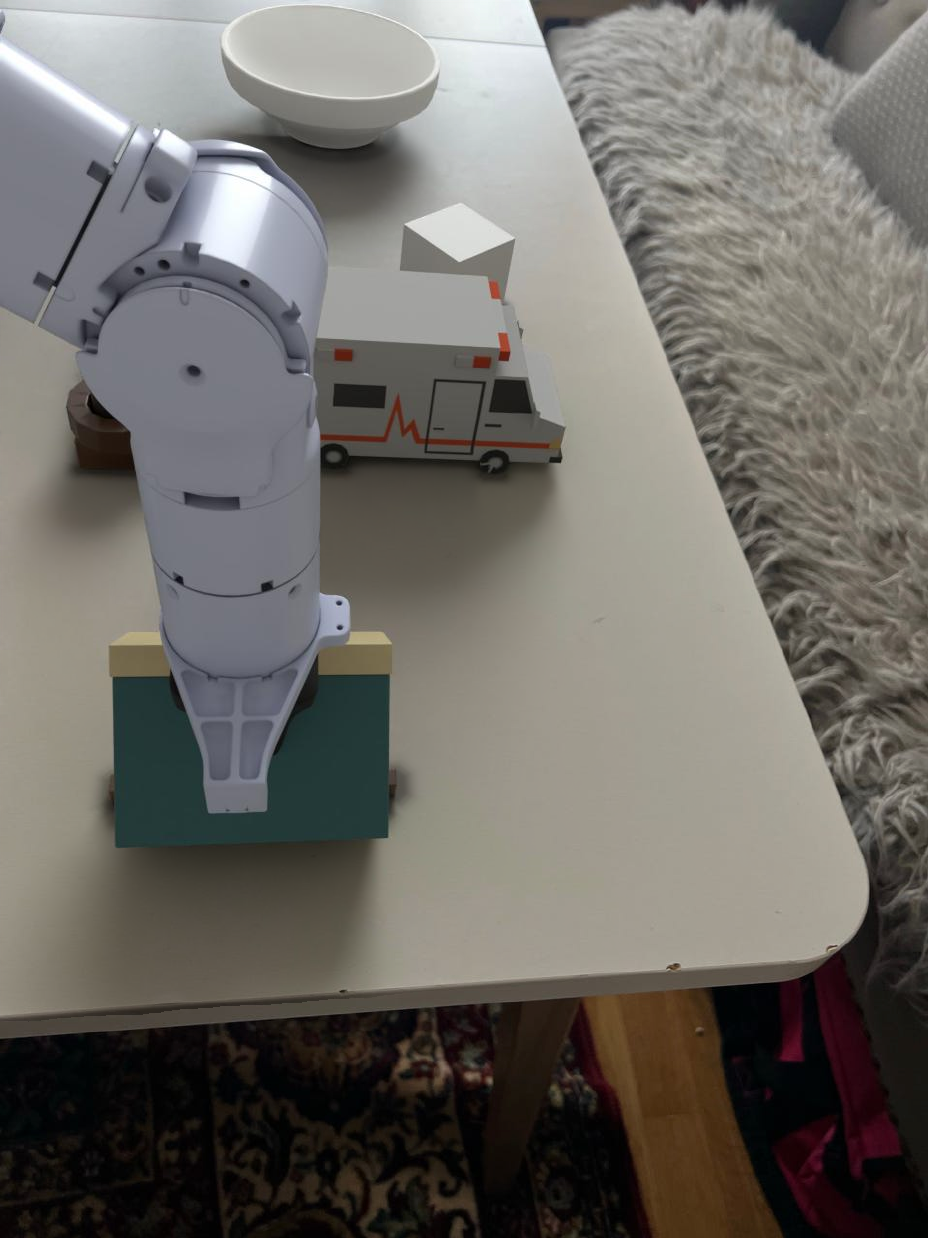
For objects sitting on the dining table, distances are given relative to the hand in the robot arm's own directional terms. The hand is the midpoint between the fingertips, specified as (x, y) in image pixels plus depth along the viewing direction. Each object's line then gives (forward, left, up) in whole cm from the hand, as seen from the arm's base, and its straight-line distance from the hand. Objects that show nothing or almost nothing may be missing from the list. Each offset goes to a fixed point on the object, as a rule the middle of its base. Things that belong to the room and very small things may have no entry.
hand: (254, 746), depth 45 cm
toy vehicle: (+11, +29, -7) cm, 32 cm away
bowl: (+5, +72, -7) cm, 73 cm away
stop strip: (0, +2, -7) cm, 7 cm away
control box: (-7, +32, -7) cm, 33 cm away
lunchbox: (0, -1, -5) cm, 5 cm away
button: (-9, +27, -3) cm, 28 cm away
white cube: (+14, +45, -7) cm, 48 cm away
